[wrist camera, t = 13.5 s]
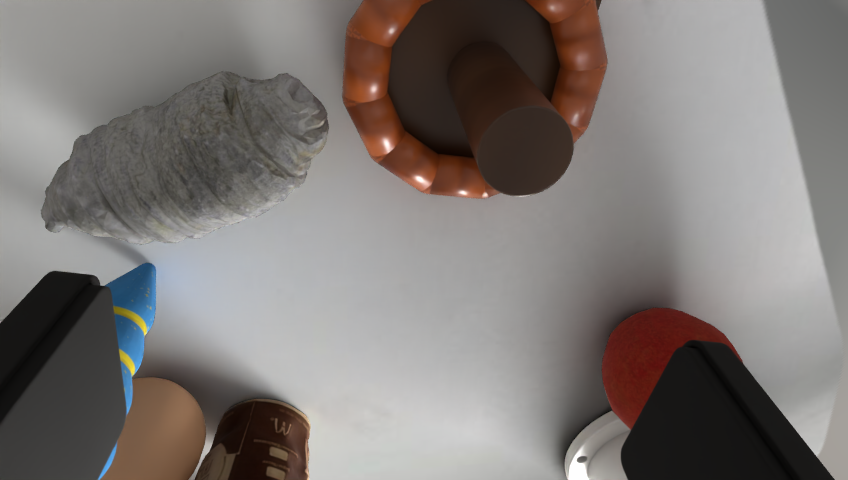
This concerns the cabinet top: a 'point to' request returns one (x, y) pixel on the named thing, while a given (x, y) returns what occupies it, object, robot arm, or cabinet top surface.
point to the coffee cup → (259, 443)
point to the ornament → (132, 323)
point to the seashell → (190, 161)
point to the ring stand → (484, 90)
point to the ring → (411, 159)
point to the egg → (159, 434)
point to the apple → (647, 355)
